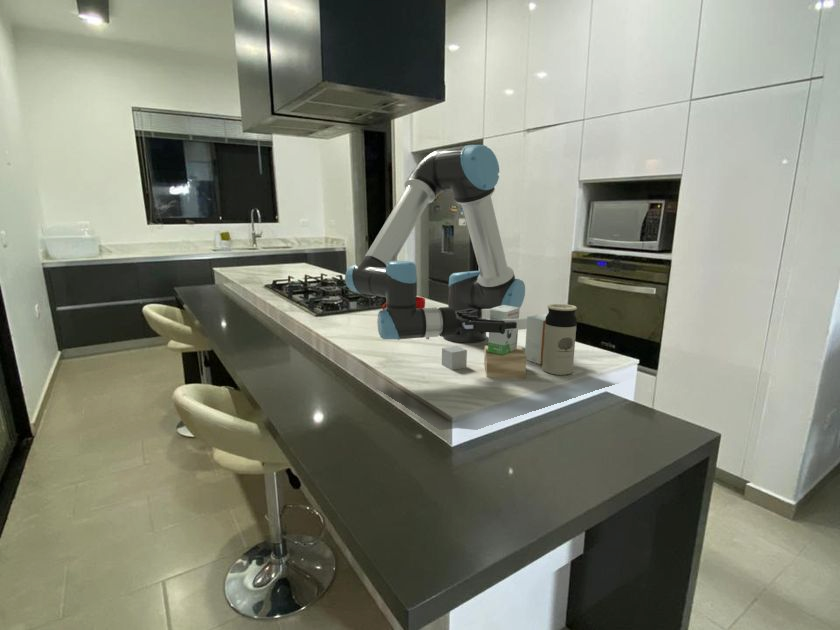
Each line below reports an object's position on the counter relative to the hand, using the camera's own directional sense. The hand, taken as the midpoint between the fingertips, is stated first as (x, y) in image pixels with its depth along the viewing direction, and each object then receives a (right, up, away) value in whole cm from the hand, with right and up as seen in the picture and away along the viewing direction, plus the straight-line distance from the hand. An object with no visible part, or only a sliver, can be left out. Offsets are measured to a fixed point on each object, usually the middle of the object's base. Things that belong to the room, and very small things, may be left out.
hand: (514, 318), depth 120 cm
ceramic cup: (-32, -3, +56) cm, 65 cm away
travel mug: (+12, -15, +2) cm, 19 cm away
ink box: (-3, -9, +1) cm, 10 cm away
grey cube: (-16, -14, +6) cm, 22 cm away
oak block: (-2, -15, +2) cm, 15 cm away
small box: (+11, -13, +12) cm, 20 cm away
